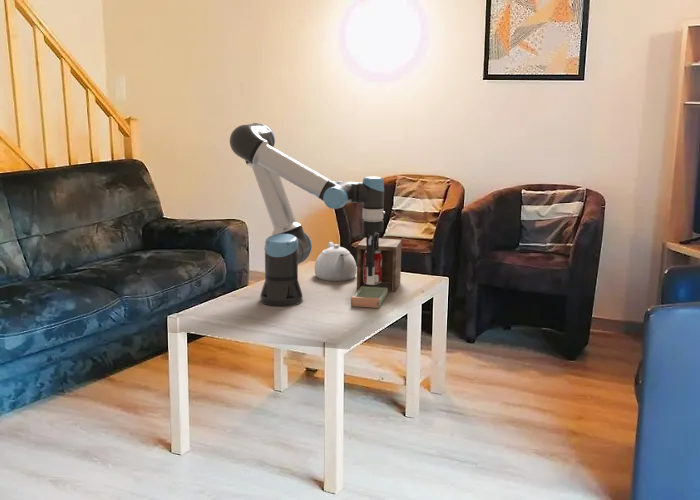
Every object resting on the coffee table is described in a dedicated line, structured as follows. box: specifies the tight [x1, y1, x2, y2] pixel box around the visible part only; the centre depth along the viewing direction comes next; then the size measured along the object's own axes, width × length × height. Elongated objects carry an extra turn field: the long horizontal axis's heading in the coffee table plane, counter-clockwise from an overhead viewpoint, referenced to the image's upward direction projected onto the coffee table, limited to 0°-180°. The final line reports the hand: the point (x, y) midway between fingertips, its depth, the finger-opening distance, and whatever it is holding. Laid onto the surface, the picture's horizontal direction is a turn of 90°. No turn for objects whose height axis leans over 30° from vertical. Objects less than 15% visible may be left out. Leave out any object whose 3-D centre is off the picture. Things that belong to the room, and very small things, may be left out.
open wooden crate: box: [356, 237, 403, 293], centre depth 304 cm, size 15×15×18 cm
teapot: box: [314, 241, 357, 282], centre depth 319 cm, size 19×18×14 cm
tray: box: [350, 285, 388, 309], centre depth 285 cm, size 10×20×3 cm, turn 169°
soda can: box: [363, 250, 382, 286], centre depth 286 cm, size 7×7×12 cm
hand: (372, 281), depth 287 cm, fingers closed on soda can, 7 cm apart
